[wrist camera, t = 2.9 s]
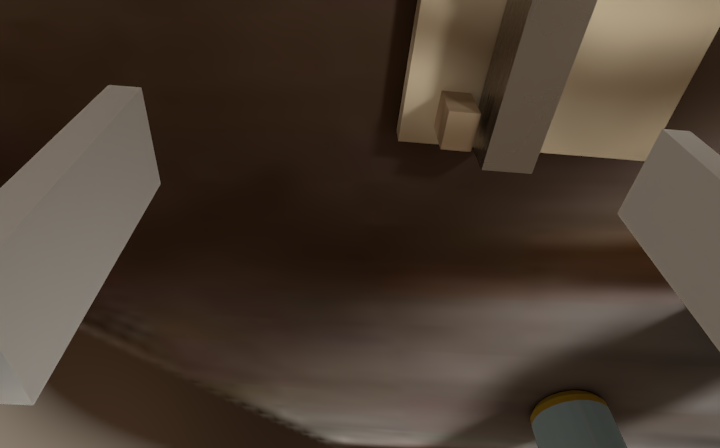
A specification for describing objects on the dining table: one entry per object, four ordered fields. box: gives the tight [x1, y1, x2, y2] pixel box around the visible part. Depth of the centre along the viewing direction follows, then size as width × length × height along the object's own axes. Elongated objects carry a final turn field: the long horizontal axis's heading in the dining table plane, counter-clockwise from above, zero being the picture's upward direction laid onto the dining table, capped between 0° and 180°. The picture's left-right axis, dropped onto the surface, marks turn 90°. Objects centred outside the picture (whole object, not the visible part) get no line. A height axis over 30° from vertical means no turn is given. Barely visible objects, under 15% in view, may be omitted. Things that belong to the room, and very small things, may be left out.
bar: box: [472, 0, 597, 174], centre depth 22 cm, size 8×2×3 cm, turn 174°
